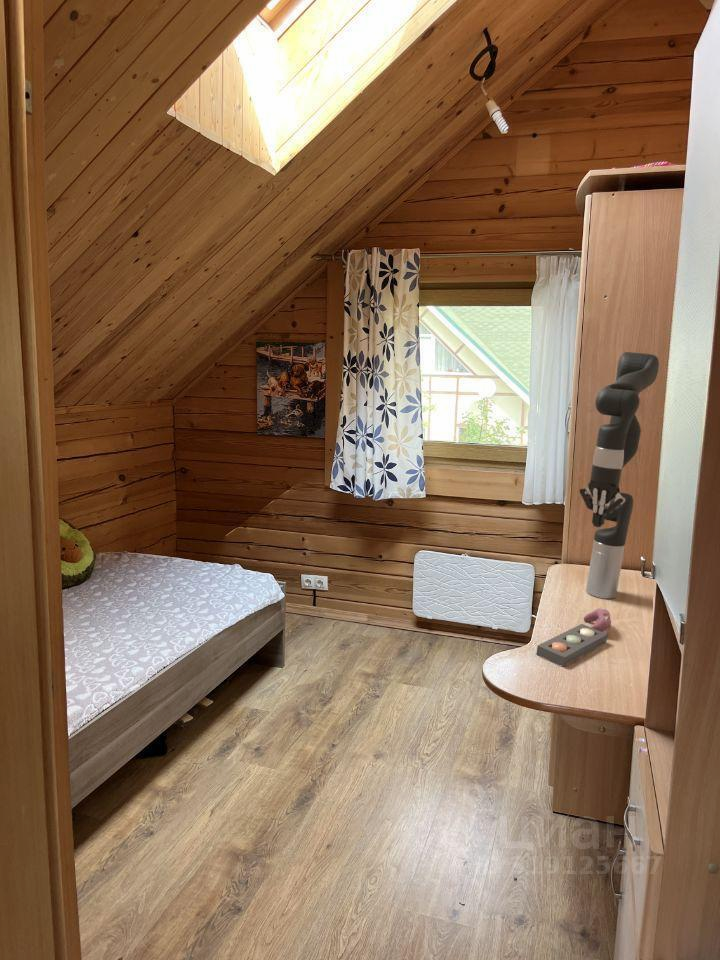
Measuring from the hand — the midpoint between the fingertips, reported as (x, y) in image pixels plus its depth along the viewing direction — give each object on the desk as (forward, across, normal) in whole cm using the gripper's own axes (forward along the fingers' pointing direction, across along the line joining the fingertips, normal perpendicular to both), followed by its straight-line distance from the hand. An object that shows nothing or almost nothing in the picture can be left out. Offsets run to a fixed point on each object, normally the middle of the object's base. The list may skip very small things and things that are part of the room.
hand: (597, 526), depth 186 cm
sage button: (+29, +6, -16) cm, 33 cm away
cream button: (+28, +6, -9) cm, 30 cm away
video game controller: (+29, +4, +1) cm, 30 cm away
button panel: (+29, +6, -16) cm, 34 cm away
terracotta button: (+28, +6, -23) cm, 37 cm away
